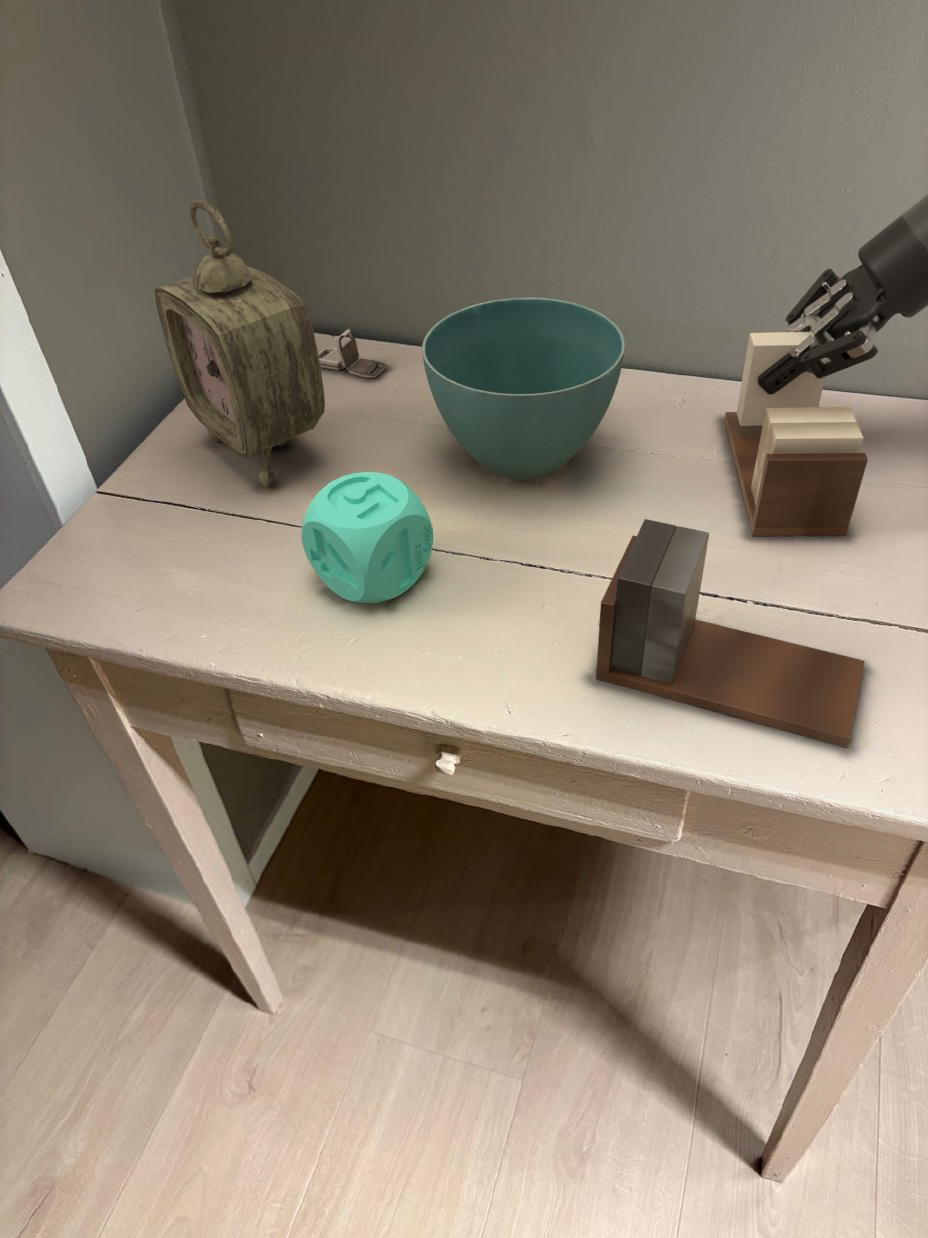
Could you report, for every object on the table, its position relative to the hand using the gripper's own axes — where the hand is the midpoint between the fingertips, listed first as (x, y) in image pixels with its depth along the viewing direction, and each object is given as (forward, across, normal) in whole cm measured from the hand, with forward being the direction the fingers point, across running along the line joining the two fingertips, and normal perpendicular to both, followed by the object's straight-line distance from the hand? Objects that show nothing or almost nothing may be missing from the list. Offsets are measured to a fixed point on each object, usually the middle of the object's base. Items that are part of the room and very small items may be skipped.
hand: (760, 378), depth 90 cm
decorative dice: (+30, +20, -20) cm, 41 cm away
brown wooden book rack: (+3, +6, +6) cm, 9 cm away
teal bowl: (+21, +2, -11) cm, 23 cm away
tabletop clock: (+39, +1, -29) cm, 49 cm away
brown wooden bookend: (+9, +32, 0) cm, 33 cm away
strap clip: (+35, -16, -25) cm, 46 cm away
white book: (+2, 0, +5) cm, 5 cm away
